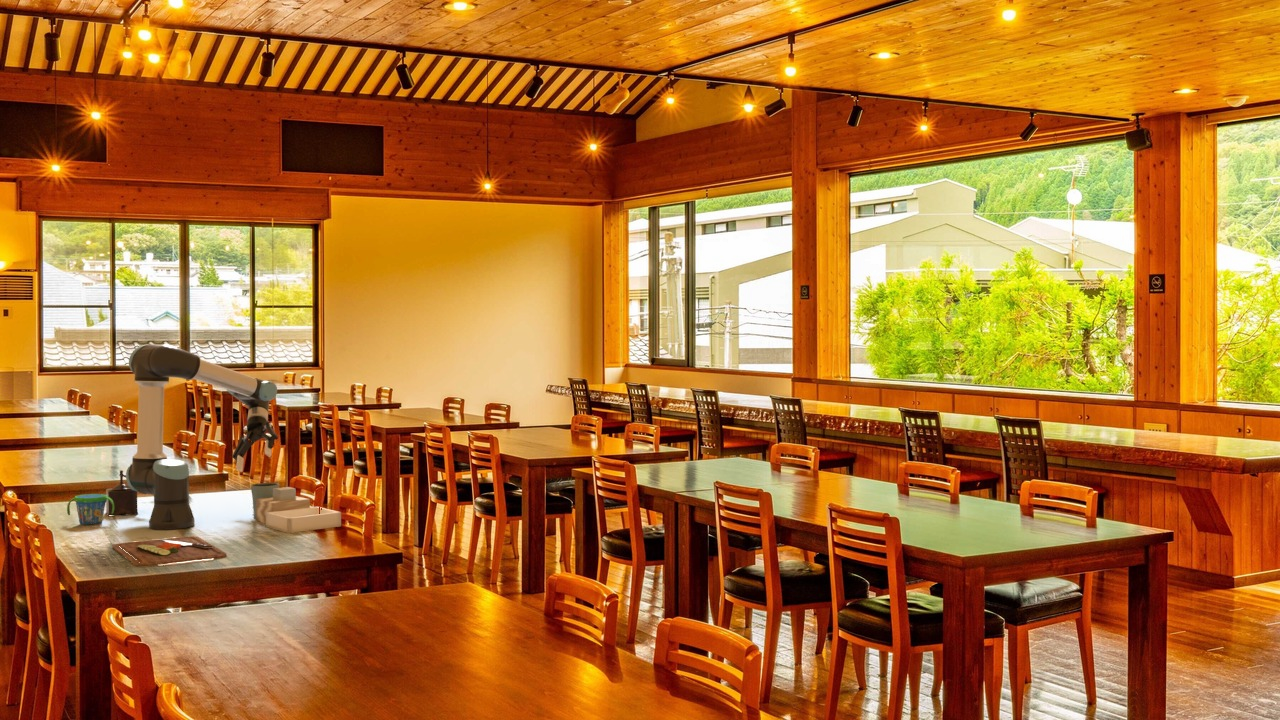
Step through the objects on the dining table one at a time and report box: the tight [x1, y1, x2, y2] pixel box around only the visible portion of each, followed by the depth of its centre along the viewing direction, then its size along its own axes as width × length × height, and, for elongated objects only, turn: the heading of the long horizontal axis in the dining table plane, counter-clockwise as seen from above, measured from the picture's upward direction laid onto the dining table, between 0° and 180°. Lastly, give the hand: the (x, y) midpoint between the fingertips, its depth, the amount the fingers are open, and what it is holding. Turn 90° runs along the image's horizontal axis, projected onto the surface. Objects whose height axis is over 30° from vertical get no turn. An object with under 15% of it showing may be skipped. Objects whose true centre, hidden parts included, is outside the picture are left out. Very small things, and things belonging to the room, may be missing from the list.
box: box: [265, 506, 342, 534], centre depth 424 cm, size 18×20×5 cm
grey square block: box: [273, 486, 297, 501], centre depth 435 cm, size 6×6×4 cm
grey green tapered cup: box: [250, 482, 280, 518], centre depth 447 cm, size 10×10×12 cm
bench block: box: [256, 495, 311, 524], centre depth 436 cm, size 14×14×8 cm
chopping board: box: [112, 535, 227, 567], centre depth 378 cm, size 45×27×3 cm, turn 34°
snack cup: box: [66, 493, 114, 526], centre depth 431 cm, size 16×10×10 cm
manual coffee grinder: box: [105, 470, 139, 516], centre depth 455 cm, size 16×11×18 cm
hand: (253, 462), depth 448 cm, fingers open, 13 cm apart
